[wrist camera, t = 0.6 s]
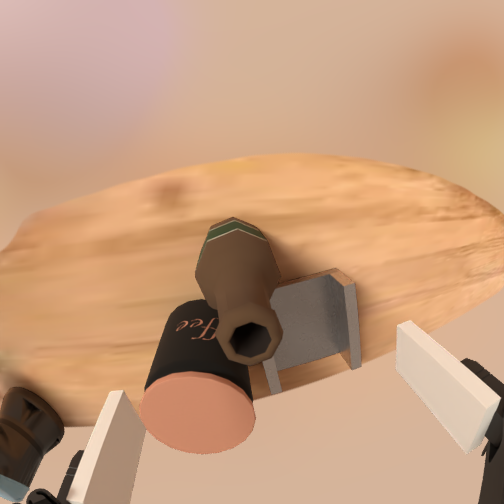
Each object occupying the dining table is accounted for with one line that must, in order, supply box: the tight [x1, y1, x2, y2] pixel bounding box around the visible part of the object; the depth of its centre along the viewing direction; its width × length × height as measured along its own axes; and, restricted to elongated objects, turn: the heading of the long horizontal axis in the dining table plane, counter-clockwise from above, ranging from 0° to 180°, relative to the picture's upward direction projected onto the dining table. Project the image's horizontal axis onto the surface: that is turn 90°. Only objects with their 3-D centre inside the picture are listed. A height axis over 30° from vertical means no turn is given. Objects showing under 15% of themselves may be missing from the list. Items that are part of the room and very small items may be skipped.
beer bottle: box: [195, 217, 283, 366], centre depth 27 cm, size 8×8×24 cm
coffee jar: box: [139, 299, 256, 454], centre depth 32 cm, size 11×11×18 cm
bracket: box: [263, 268, 361, 395], centre depth 39 cm, size 13×13×6 cm
